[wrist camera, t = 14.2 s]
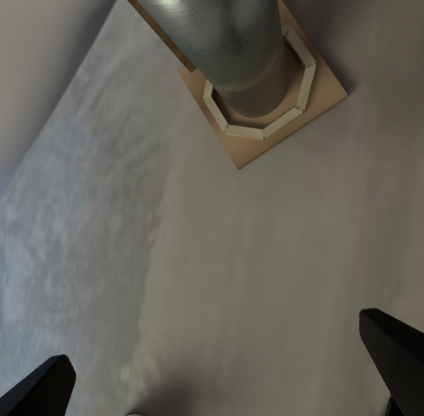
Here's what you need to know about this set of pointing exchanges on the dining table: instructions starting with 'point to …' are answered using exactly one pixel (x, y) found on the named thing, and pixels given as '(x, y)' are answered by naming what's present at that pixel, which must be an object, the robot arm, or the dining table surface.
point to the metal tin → (230, 47)
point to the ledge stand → (285, 112)
